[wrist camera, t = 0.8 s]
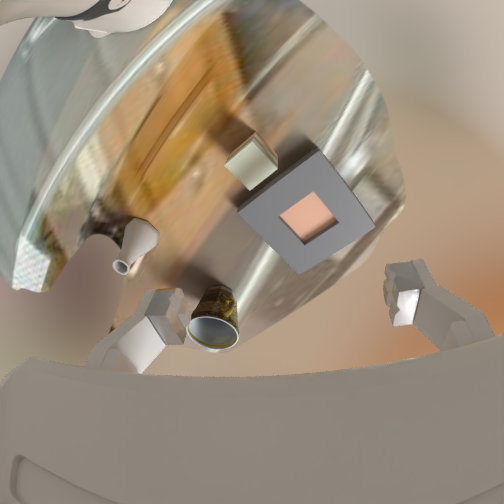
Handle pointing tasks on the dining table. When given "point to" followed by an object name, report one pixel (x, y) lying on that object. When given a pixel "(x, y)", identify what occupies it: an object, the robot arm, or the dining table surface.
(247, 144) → the faceted block
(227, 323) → the ceramic cup
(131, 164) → the dining table surface
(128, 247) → the flask
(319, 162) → the pocket plate
